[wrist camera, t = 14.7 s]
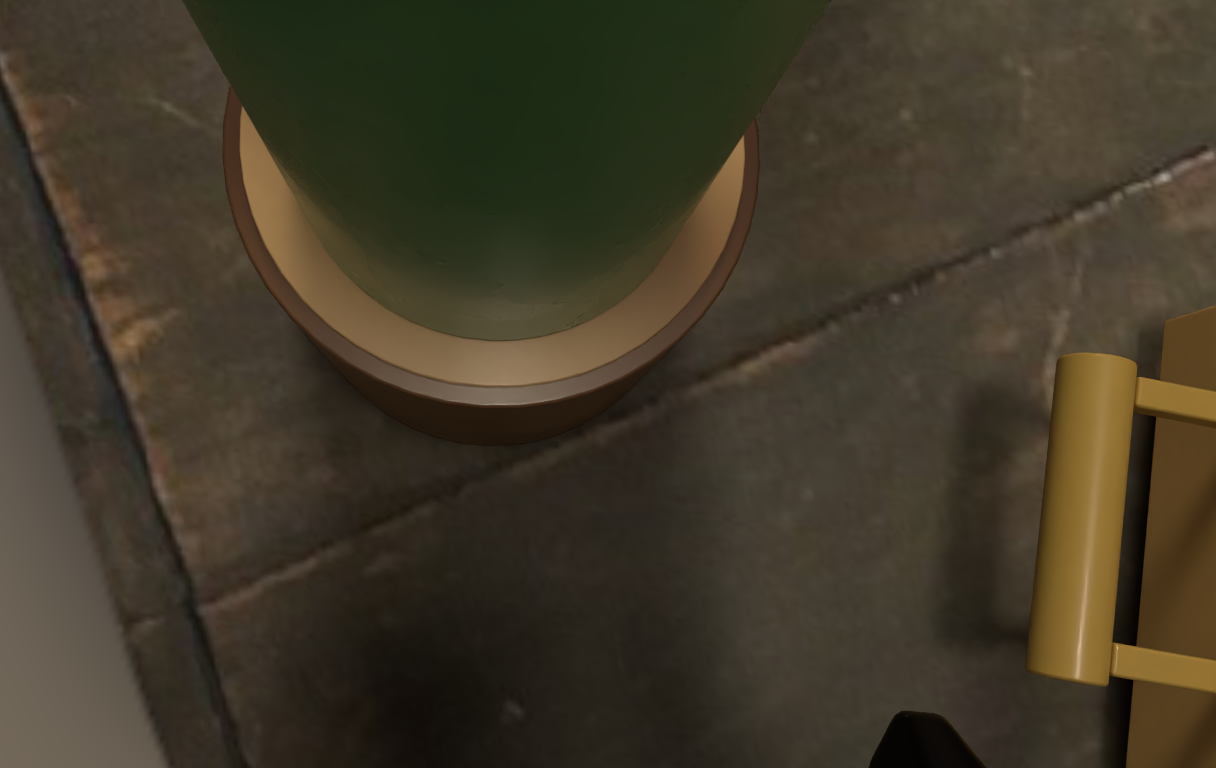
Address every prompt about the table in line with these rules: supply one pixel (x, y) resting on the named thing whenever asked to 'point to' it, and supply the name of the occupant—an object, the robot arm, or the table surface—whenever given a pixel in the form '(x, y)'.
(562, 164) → the green can
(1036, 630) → the drawer
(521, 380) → the cylinder
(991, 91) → the table surface
